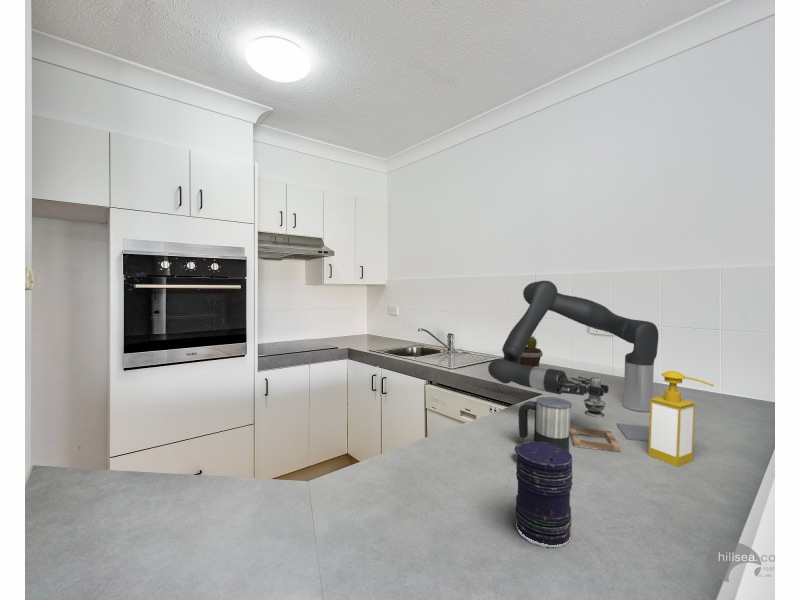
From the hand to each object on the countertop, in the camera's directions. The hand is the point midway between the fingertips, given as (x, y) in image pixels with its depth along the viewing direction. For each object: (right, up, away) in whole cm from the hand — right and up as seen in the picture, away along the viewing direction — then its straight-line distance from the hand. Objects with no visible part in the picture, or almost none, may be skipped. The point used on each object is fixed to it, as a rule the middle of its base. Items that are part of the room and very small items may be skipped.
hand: (605, 390), depth 109 cm
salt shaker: (-2, -8, +2) cm, 8 cm away
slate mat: (+16, -15, +8) cm, 24 cm away
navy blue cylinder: (-33, -17, -38) cm, 53 cm away
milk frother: (-21, -16, -8) cm, 28 cm away
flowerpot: (+10, -12, +96) cm, 97 cm away
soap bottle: (+14, -16, -10) cm, 24 cm away
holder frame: (-2, -16, +3) cm, 16 cm away
